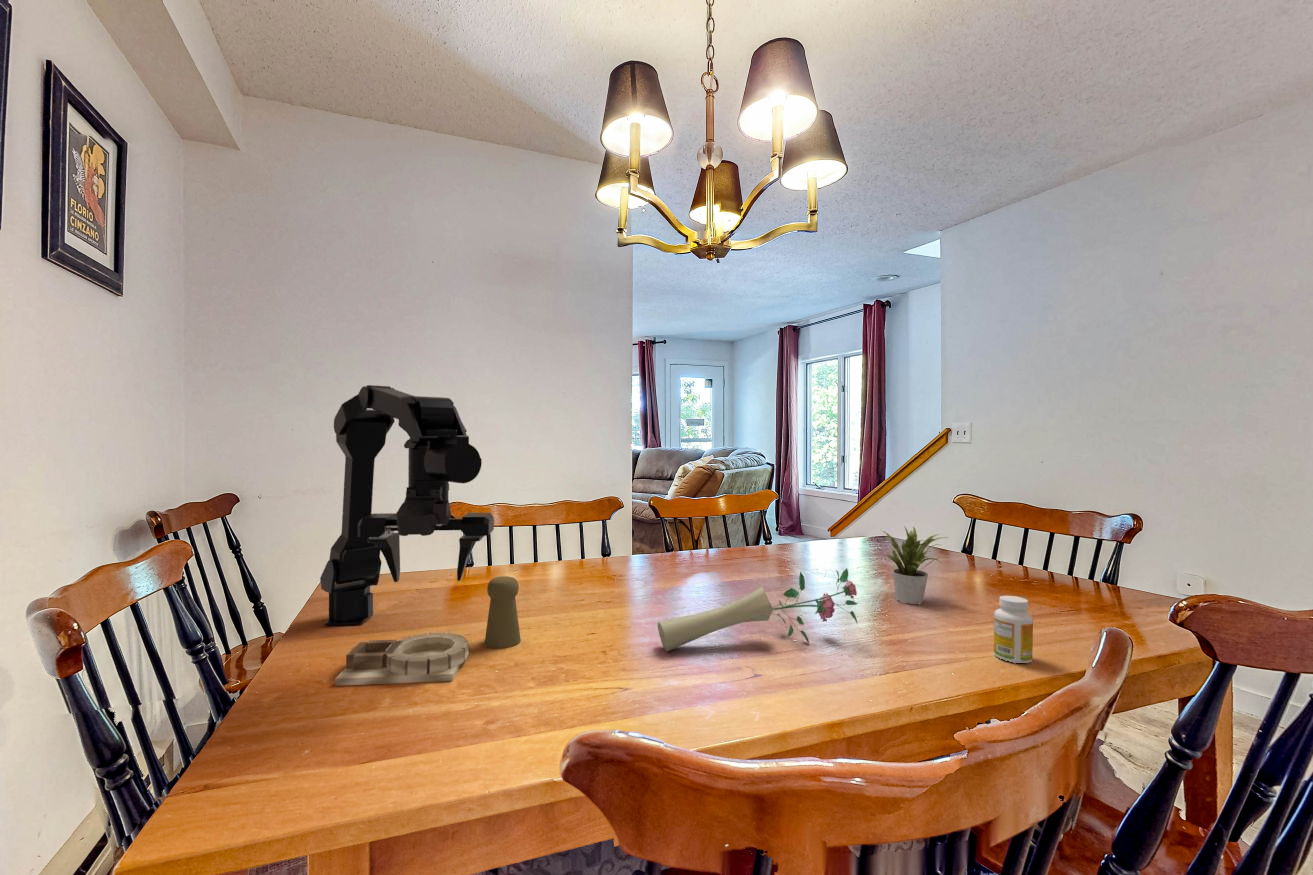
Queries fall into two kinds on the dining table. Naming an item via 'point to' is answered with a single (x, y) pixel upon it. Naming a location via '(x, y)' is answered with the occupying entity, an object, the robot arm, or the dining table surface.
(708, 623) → the flower vase
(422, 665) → the holder
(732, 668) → the dining table surface
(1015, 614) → the supplement bottle
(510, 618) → the olive tapered knobbed peg
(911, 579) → the house plant
